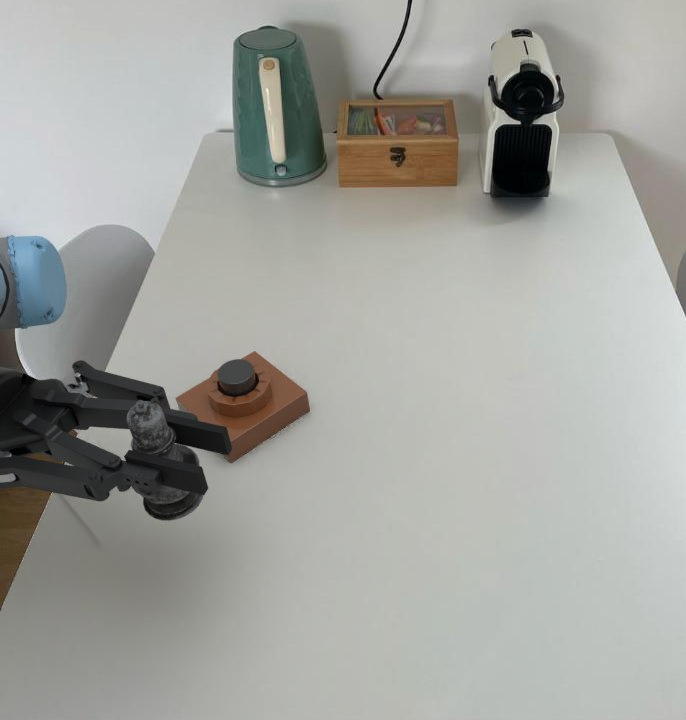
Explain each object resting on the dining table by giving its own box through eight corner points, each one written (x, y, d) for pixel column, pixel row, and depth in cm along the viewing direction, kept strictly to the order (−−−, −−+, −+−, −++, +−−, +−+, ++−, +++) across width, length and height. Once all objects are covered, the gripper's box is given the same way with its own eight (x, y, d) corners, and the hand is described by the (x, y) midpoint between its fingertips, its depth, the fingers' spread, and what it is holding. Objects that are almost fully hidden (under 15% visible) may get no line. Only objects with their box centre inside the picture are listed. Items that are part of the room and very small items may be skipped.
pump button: (234, 402, 88) (230, 389, 86) (213, 384, 90) (209, 371, 89) (264, 384, 90) (261, 370, 88) (242, 367, 92) (239, 353, 91)
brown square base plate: (231, 463, 88) (222, 431, 84) (181, 416, 93) (171, 385, 90) (310, 410, 93) (305, 379, 90) (258, 368, 98) (251, 337, 95)
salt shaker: (126, 499, 71) (84, 404, 63) (180, 459, 74) (147, 363, 66) (167, 535, 68) (129, 440, 60) (221, 491, 71) (192, 396, 63)
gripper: (46, 372, 79) (265, 419, 74) (-74, 506, 68) (175, 573, 62) (19, 313, 74) (252, 358, 69) (-116, 446, 63) (151, 514, 57)
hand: (215, 460), depth 65 cm, fingers closed on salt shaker, 4 cm apart
